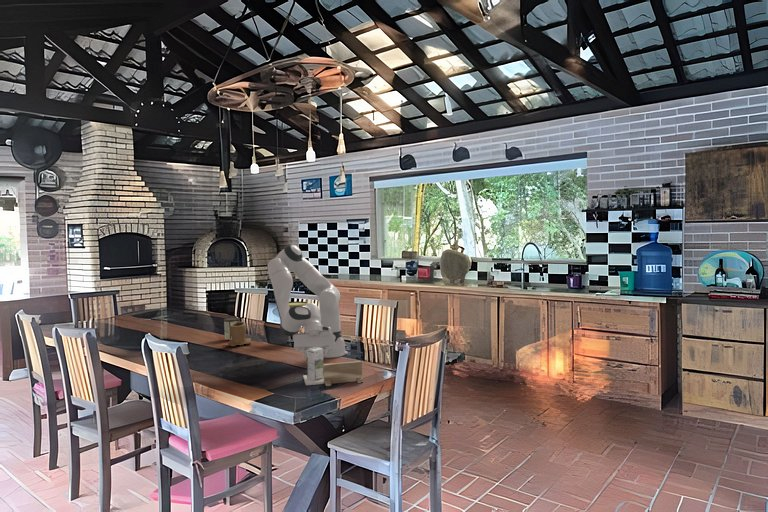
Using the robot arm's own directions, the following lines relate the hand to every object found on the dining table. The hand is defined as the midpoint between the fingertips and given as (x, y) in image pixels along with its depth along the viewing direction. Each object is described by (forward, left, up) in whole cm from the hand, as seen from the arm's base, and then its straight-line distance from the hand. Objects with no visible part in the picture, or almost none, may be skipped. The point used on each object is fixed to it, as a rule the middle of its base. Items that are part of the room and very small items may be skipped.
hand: (315, 356), depth 253 cm
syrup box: (+4, -1, -10) cm, 11 cm away
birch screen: (+12, +12, -11) cm, 20 cm away
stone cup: (-90, -38, -11) cm, 99 cm away
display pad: (+4, -1, -11) cm, 11 cm away
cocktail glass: (-90, -4, -11) cm, 91 cm away
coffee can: (-111, -44, -11) cm, 120 cm away
